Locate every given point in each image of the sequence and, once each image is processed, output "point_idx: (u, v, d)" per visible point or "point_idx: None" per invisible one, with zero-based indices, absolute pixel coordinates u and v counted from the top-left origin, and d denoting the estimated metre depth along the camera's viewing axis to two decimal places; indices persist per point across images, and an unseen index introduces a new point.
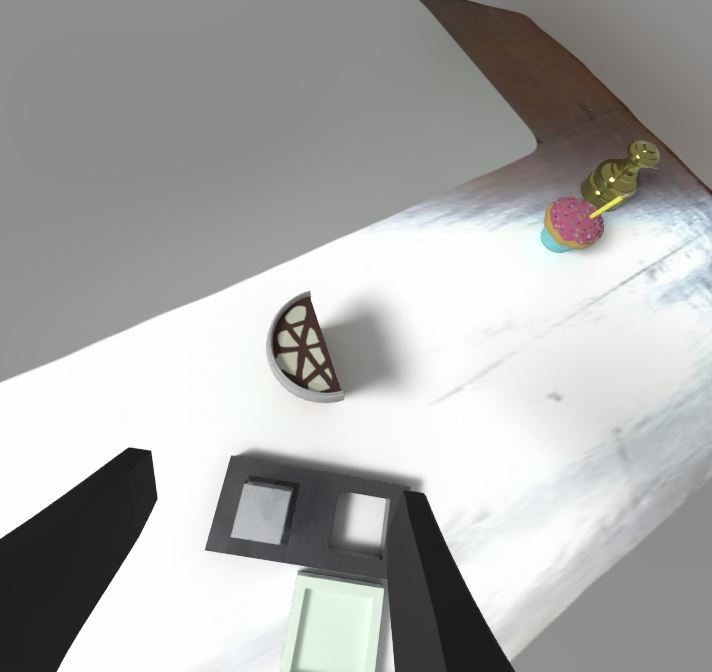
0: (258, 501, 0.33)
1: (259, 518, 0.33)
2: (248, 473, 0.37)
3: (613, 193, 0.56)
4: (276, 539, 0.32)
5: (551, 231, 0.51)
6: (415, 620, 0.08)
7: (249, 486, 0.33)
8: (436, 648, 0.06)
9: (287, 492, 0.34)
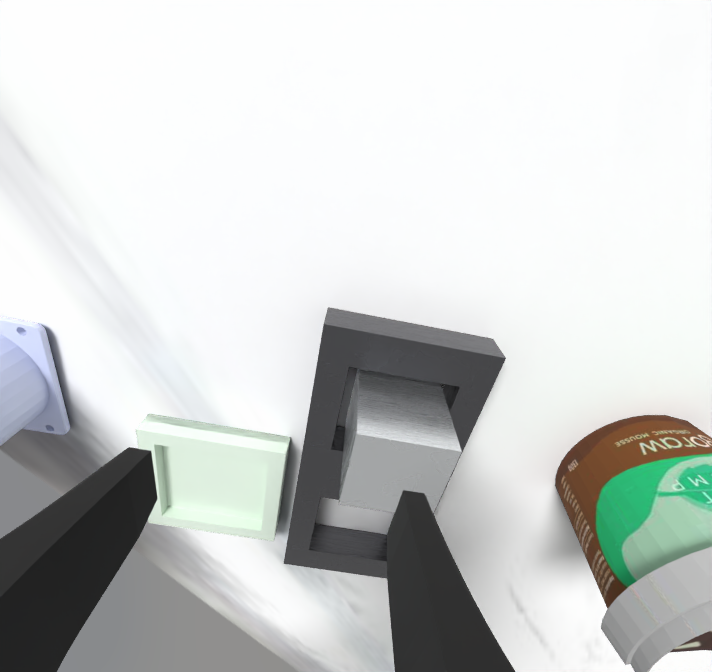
0: (420, 475, 0.15)
1: (388, 477, 0.15)
2: (461, 390, 0.18)
3: None
4: (347, 500, 0.16)
5: None
6: (415, 619, 0.08)
7: (454, 460, 0.15)
8: (436, 648, 0.06)
9: None
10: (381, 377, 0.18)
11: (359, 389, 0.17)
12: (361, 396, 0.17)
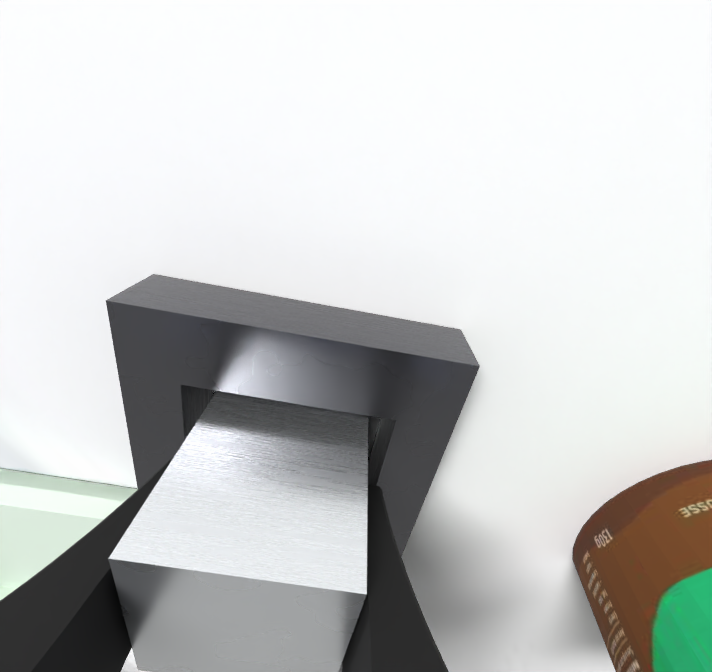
0: (285, 631, 0.07)
1: (219, 633, 0.07)
2: (399, 426, 0.10)
3: None
4: (153, 665, 0.08)
5: None
6: None
7: (354, 609, 0.06)
8: (367, 639, 0.06)
9: None
10: (255, 403, 0.10)
11: (193, 431, 0.09)
12: (185, 449, 0.08)
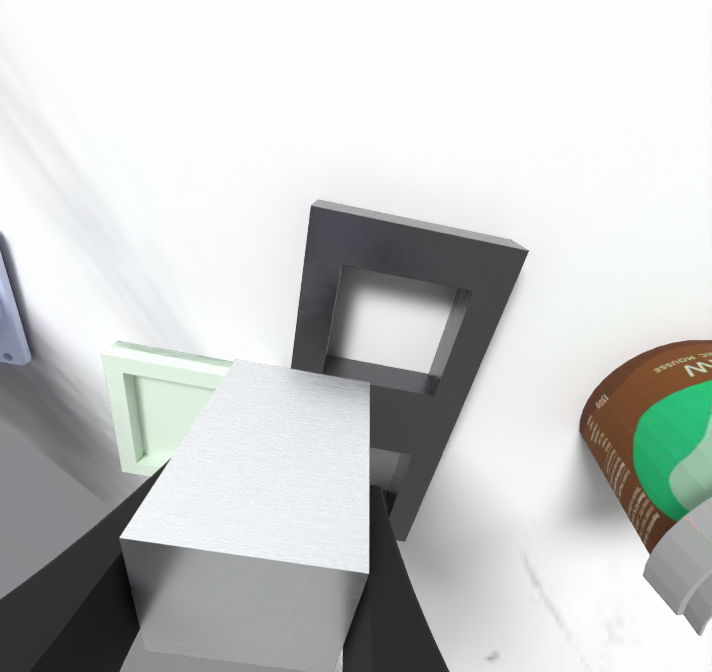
0: (289, 610, 0.07)
1: (224, 612, 0.07)
2: (474, 295, 0.15)
3: None
4: (160, 645, 0.08)
5: None
6: (357, 612, 0.07)
7: (356, 588, 0.07)
8: (368, 639, 0.06)
9: (330, 668, 0.08)
10: (258, 393, 0.10)
11: (198, 419, 0.09)
12: (191, 436, 0.08)
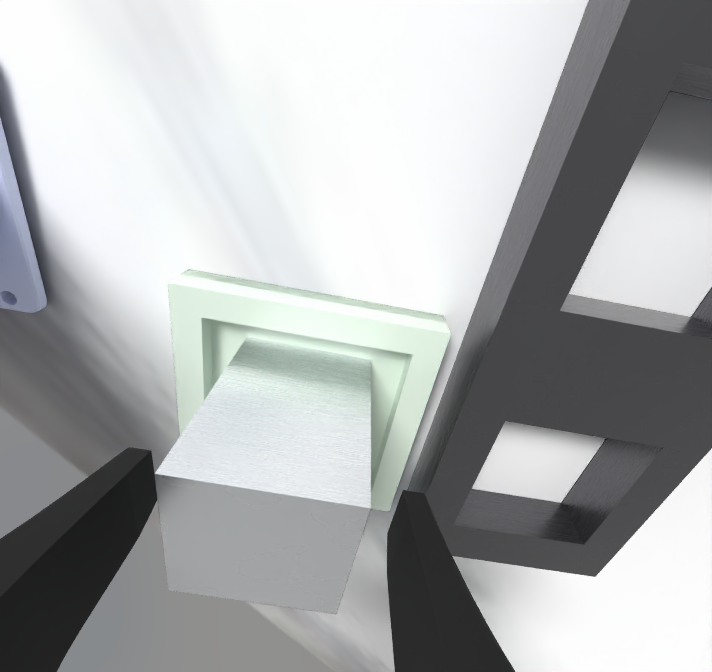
0: (299, 546, 0.08)
1: (242, 549, 0.08)
2: None
3: None
4: (182, 584, 0.09)
5: None
6: (415, 619, 0.08)
7: (359, 523, 0.08)
8: (436, 648, 0.06)
9: (334, 607, 0.09)
10: (269, 365, 0.11)
11: (216, 385, 0.10)
12: (211, 397, 0.09)
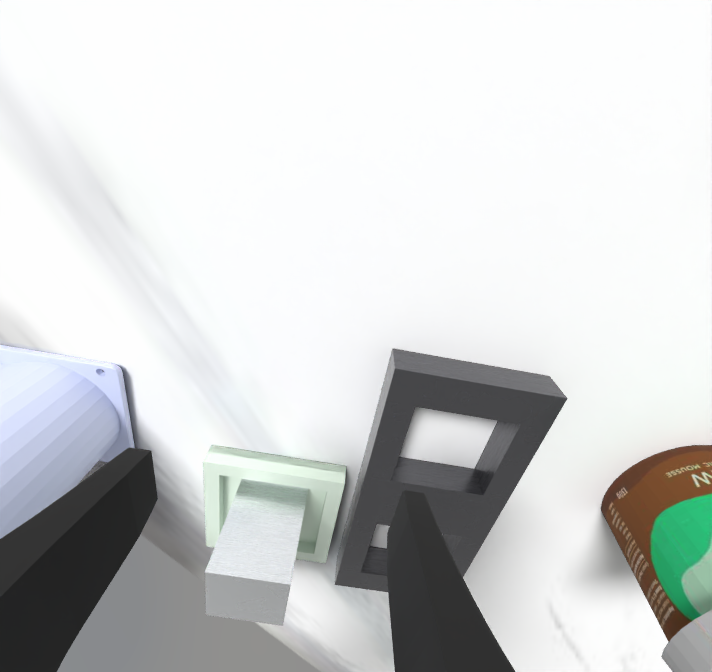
0: (263, 598, 0.19)
1: (239, 598, 0.19)
2: (521, 427, 0.19)
3: None
4: (212, 612, 0.20)
5: None
6: (415, 619, 0.08)
7: (287, 589, 0.19)
8: (436, 648, 0.06)
9: (281, 622, 0.20)
10: (253, 499, 0.22)
11: (227, 517, 0.21)
12: (225, 526, 0.20)
